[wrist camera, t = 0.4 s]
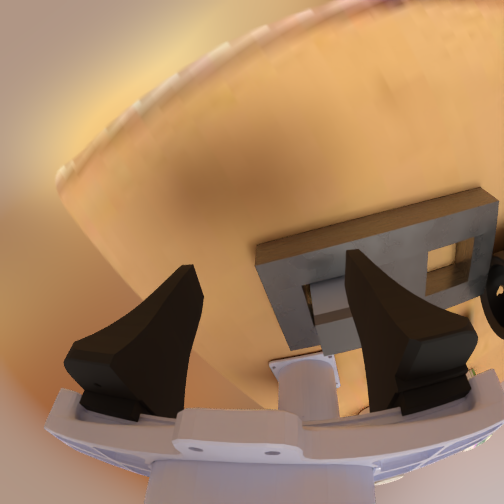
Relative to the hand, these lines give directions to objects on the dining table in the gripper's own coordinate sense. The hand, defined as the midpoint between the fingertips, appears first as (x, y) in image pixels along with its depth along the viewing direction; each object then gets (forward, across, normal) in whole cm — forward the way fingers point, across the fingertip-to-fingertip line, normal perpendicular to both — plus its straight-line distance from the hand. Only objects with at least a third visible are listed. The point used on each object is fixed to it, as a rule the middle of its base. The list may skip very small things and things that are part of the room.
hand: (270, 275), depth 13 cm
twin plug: (+10, -5, +9) cm, 14 cm away
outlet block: (+10, -10, +8) cm, 16 cm away
